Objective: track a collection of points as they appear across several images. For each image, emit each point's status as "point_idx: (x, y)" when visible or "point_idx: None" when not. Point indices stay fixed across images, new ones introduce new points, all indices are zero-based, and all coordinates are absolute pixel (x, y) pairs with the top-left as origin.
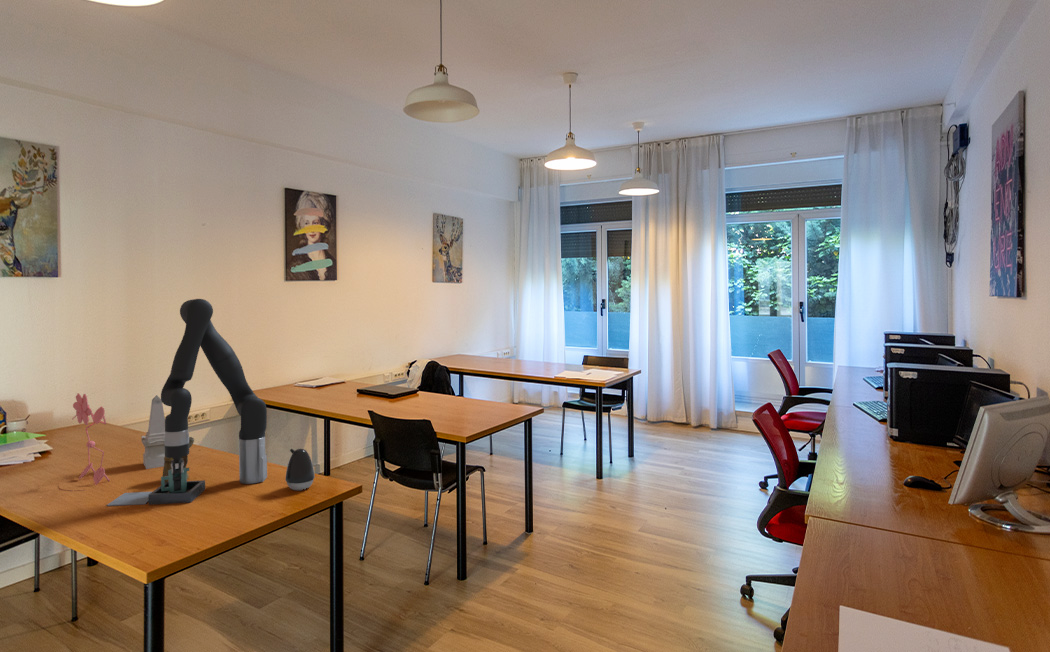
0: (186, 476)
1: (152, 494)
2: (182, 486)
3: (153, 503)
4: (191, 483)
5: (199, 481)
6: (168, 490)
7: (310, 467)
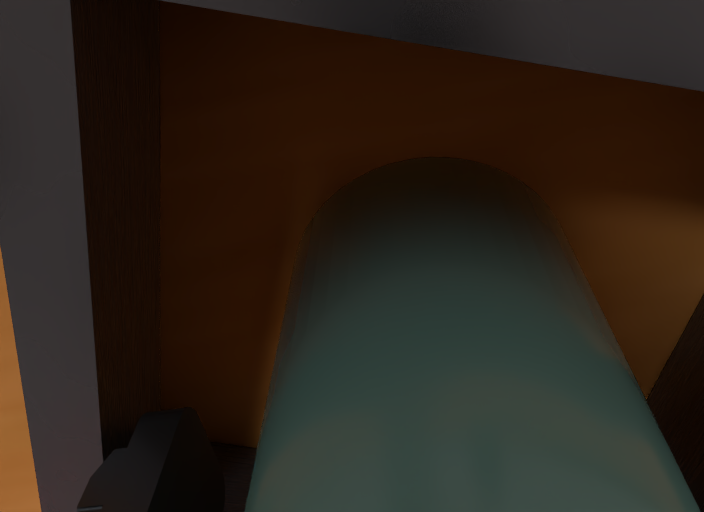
0: (519, 486)
1: None
2: (619, 352)
3: None
4: (105, 203)
5: (64, 15)
6: None
7: None
